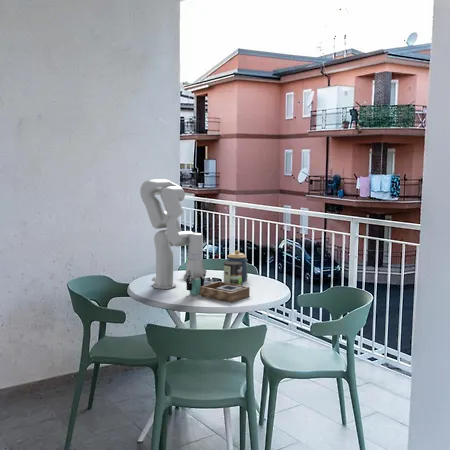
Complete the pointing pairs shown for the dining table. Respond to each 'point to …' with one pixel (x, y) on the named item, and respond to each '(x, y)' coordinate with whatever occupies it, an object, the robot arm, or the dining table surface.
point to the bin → (224, 292)
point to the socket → (229, 288)
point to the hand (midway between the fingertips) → (195, 288)
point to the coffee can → (233, 272)
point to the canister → (240, 258)
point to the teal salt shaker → (196, 286)
